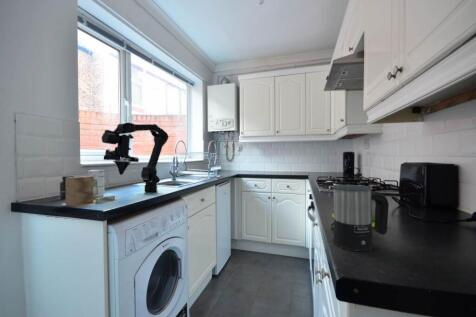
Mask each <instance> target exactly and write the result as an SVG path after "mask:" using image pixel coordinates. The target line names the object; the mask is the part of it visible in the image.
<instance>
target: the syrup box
mask: <svg viewBox="0 0 476 317" xmlns="http://www.w3.org/2000/svg"><path fill="white" fill-rule="evenodd" d="M88 176H91V177H93V195H99V194H105V192H106V191H105V169H89V170H88Z"/></svg>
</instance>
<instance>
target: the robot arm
mask: <svg viewBox="0 0 476 317" xmlns="http://www.w3.org/2000/svg"><path fill="white" fill-rule="evenodd" d="M142 131H150V134H151V135H152V136H153V142H154V145H153V148H152V151H151V154H150V156H149V161H148V164H147V165H146V166H143V167H142V169H141V172H140V177H141V178H142V181H143V183H145V184H144V194H157V193H158V191H159V190H158V183H160V181H161V179H160V178H159V176H158V175H157V173H158V171H157V165H158V162H159V159H160V156H161V153H162V150H163V147H164V145H165V144H166V143H167V141H168V140H169V135H168V133H167V132H166V130H164V129H163V128H161V127H160V126H158V125H157V124H156V123H151V124H150V123H149V124H148V123H145V124H142V123H141V124H136V123H133V122H121V123H118V124H117V126H116V128H115V129H114V130H111V129H105V130H104V133H102V136H101V142H102V143H103V144H109V145H117V146H115V147H114V150H112V149H109V148H108V149H105V154H104V155H103V160H104V161H112V162H113V163H114V164H116V166H117V170H118V173H119V175H121V176H123V175H124V172H125V171H126V170H127V168H128V167H129V165H130V164H131V163H139V162H140V160H139V157H137V156H131V155H130V154H129V152H130V151H131V149H132V148H131V147H130V140H131V139H134V136H133V135H132V134H131V133H135V132H142Z"/></svg>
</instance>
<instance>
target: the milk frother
mask: <svg viewBox="0 0 476 317" xmlns="http://www.w3.org/2000/svg"><path fill="white" fill-rule="evenodd" d="M332 188H333V212H334V218H333V222H332V223H331V224H330V230H331V231H332V232H333V238H332V243H333V244H334V245H336V246H337V247H339V248H341V249H345V250H347V251H353V252H368V251H371V250H373V248H374V245H373V228H374V231H375V232H376V233H378V234H379V235H386V234H387V233H388V231H387V230H388V221H389V220H388V219H389V207H390V206H389V201H388V199H387V197H386V196H385V195H384V194H383V193H381V192H378V191H373V189H374V188H373V187H372V186H368V185H359V184H358V185H357V184H336V185H332ZM372 200H374V204H375V206H374V207H375V209H374V218H375V227H372V217H373V214H372V212H373V210H372V207H373V206H372Z"/></svg>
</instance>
